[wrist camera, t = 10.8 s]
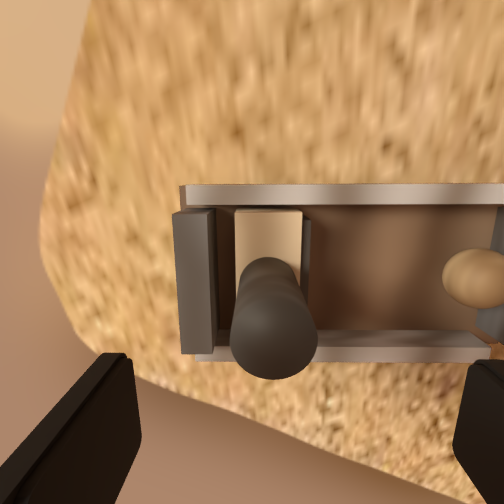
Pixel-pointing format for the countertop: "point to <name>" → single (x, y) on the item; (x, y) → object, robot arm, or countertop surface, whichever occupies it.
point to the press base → (357, 268)
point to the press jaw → (272, 293)
